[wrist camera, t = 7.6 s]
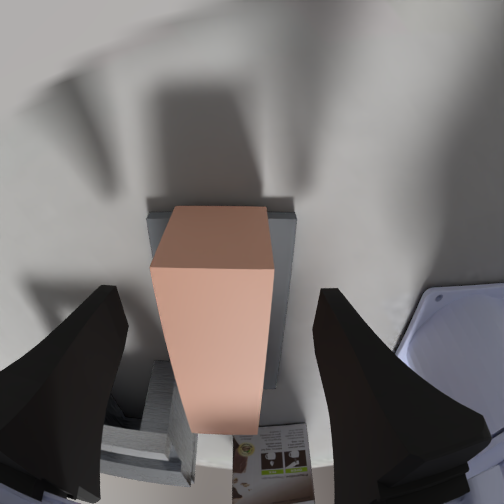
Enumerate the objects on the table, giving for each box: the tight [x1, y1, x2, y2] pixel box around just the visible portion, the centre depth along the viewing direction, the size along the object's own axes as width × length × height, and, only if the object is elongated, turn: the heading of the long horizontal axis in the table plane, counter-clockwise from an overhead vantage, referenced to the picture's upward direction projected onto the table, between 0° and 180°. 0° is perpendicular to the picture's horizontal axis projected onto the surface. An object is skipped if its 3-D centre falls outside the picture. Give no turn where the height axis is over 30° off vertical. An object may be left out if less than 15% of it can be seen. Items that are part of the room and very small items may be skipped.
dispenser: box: [100, 360, 198, 487], centre depth 19 cm, size 8×11×6 cm
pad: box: [146, 212, 297, 389], centre depth 16 cm, size 6×12×1 cm, turn 179°
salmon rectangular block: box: [150, 206, 275, 435], centre depth 13 cm, size 4×11×4 cm, turn 178°
